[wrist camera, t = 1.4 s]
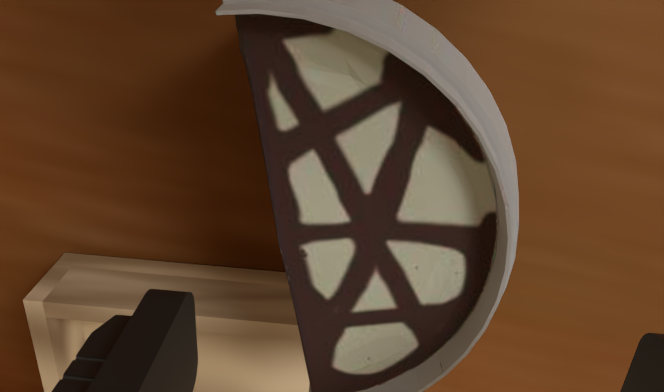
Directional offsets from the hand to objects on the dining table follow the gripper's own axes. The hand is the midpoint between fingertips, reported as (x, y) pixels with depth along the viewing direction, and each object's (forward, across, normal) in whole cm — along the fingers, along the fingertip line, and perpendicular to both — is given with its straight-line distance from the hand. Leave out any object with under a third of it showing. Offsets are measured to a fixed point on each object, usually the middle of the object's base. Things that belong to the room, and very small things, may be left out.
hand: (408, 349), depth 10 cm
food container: (+13, 0, 0) cm, 13 cm away
